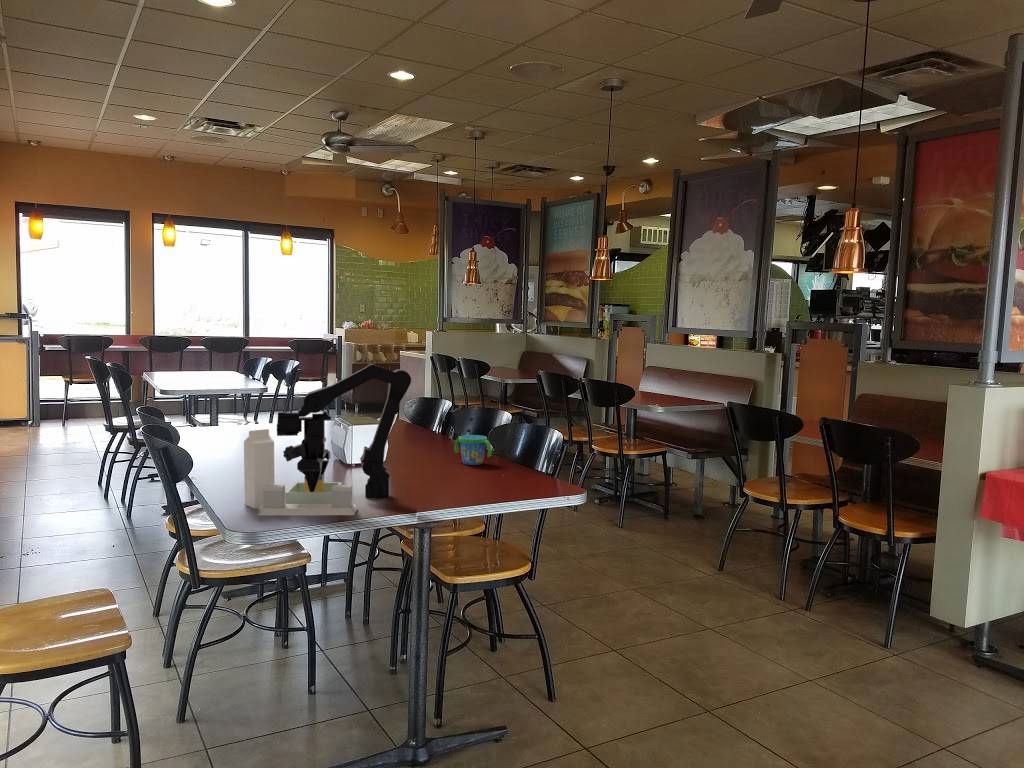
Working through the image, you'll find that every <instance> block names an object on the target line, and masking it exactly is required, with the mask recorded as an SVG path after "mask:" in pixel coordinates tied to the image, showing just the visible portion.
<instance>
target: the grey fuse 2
mask: <svg viewBox="0 0 1024 768" xmlns="http://www.w3.org/2000/svg"><path fill="white" fill-rule="evenodd" d="M352 504H353V484H342V485H333V487H332V508H352Z"/></svg>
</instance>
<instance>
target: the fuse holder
mask: <svg viewBox="0 0 1024 768" xmlns="http://www.w3.org/2000/svg"><path fill="white" fill-rule="evenodd" d="M357 511H358V503H352V508H332V504H285V507H284V508H263V505H261V506H260V507H259V508H257V516H355V514H356V512H357Z"/></svg>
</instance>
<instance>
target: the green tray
mask: <svg viewBox="0 0 1024 768" xmlns="http://www.w3.org/2000/svg"><path fill="white" fill-rule="evenodd" d="M333 485H343V482H339V481H335V482H334V481H333V482H331V481H328V482H327V481H326V482H325V481H324V492H305V481H302V482H301V481H299V482H298V481H296V482H294V483H293V484H292V485H291V486H290V487H289V488H288V489H287V490H285V504H332V487H333Z"/></svg>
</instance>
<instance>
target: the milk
mask: <svg viewBox="0 0 1024 768" xmlns="http://www.w3.org/2000/svg"><path fill="white" fill-rule="evenodd" d="M243 468H244V469H243V470H244V471H243V475H244V476H243V477H244V479H243V480H244V481H243V482H244V484H243V485H244V486H243V487H244V505H245V506H247V507H250V508H253V509H258V508H259V507H260V506H261V505H263V487H264V486H265V485H275V440H274V439H273V438H272V437H271V435H270V430H269V429H268V428H265V429H255V430H254V429H253V430H249V431H248V437H246V438H245V440H244V441H243Z"/></svg>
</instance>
